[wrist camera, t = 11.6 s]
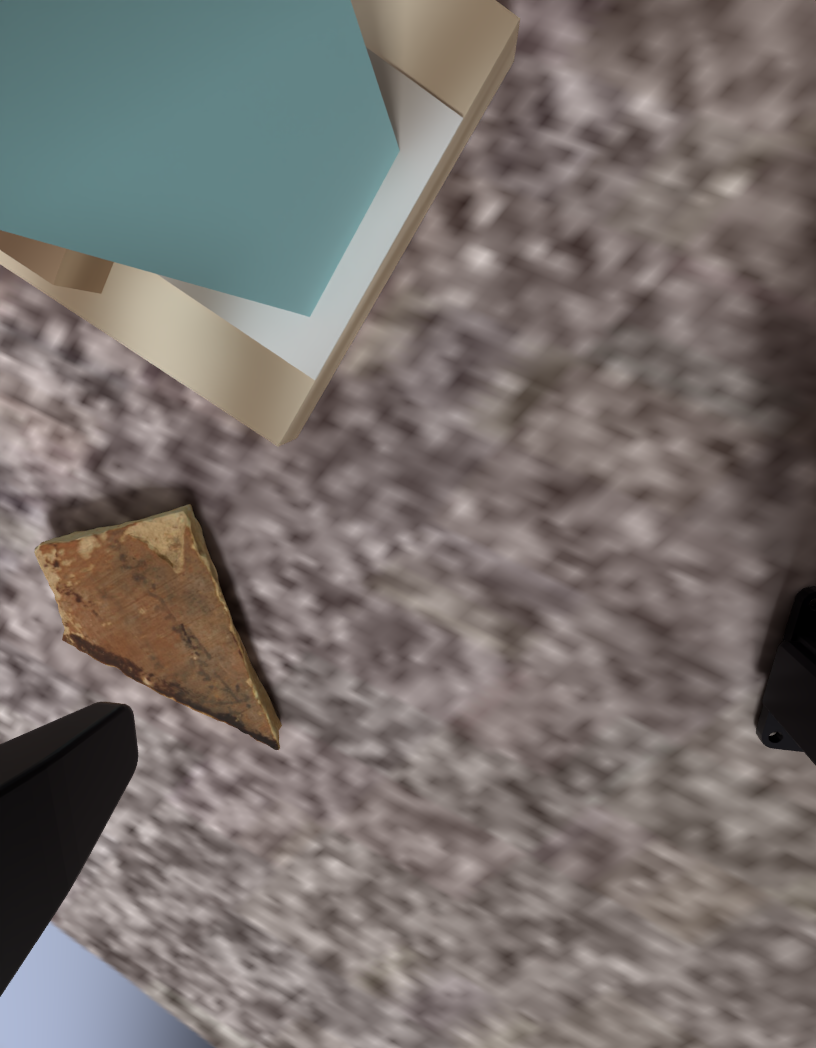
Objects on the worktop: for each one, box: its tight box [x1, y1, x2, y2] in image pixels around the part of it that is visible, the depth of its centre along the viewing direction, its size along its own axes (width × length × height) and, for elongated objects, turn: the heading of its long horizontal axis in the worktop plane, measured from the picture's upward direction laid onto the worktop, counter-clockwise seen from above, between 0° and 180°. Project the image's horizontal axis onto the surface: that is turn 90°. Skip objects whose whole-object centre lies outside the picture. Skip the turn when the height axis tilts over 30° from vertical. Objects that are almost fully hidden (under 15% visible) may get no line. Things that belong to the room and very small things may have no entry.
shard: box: [35, 504, 282, 750], centre depth 22 cm, size 11×8×2 cm
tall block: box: [0, 0, 400, 317], centre depth 9 cm, size 5×5×13 cm
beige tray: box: [0, 0, 520, 446], centre depth 14 cm, size 22×13×4 cm, turn 57°
